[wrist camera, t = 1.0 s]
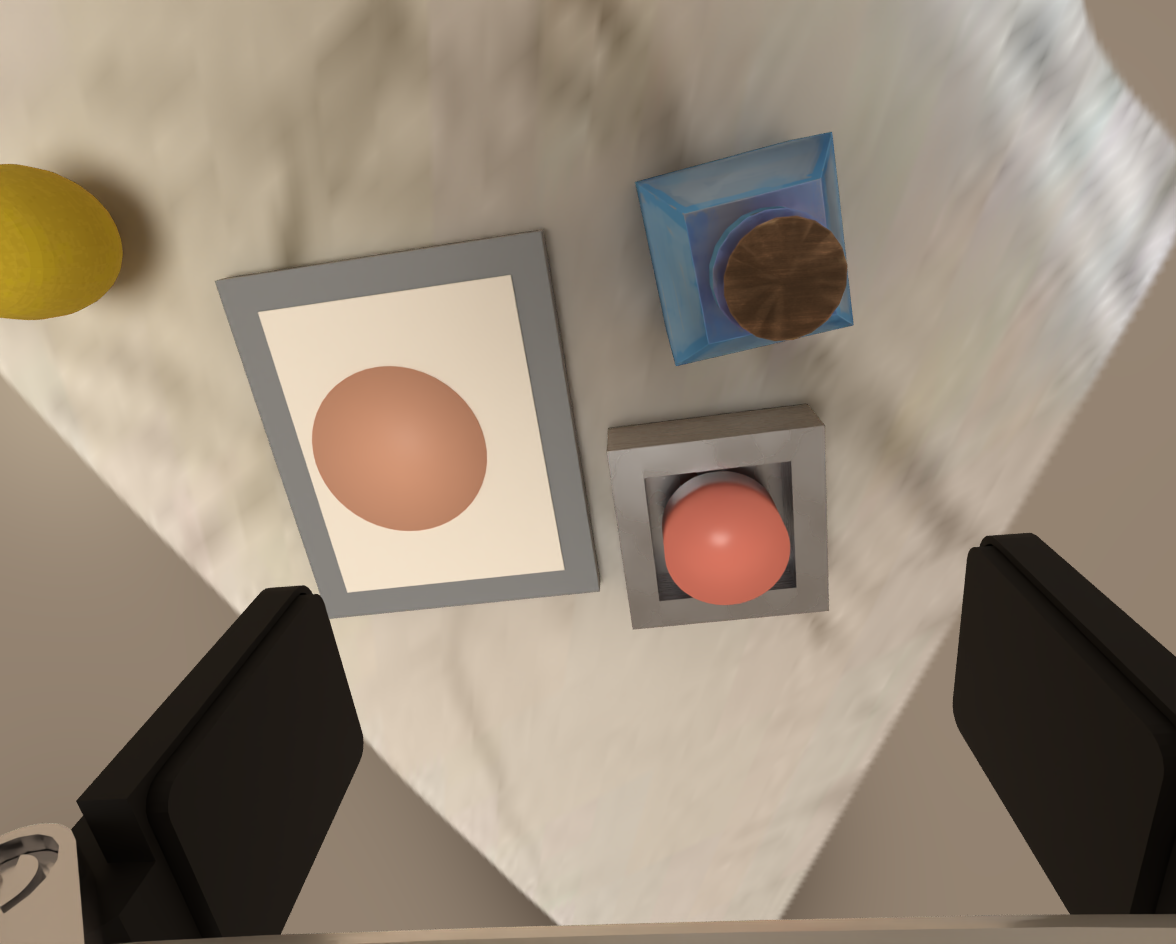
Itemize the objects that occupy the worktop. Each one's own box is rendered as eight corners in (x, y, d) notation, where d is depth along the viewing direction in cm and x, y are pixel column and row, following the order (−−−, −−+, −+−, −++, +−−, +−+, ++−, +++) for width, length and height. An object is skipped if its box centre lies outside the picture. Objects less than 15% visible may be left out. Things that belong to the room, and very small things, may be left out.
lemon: (188, 269, 31) (51, 298, 24) (89, 320, 32) (-71, 364, 25) (107, 141, 29) (-69, 130, 22) (5, 200, 30) (-195, 208, 23)
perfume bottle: (666, 330, 31) (689, 417, 20) (635, 181, 29) (641, 186, 18) (810, 296, 30) (917, 367, 19) (789, 140, 28) (898, 118, 17)
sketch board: (226, 277, 31) (211, 281, 30) (543, 229, 30) (539, 231, 28) (335, 608, 37) (326, 621, 36) (600, 580, 36) (599, 594, 35)
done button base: (608, 428, 33) (606, 451, 30) (807, 403, 32) (824, 425, 29) (632, 594, 36) (632, 629, 33) (812, 576, 35) (828, 610, 33)
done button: (655, 478, 31) (658, 503, 29) (774, 464, 31) (787, 488, 29) (667, 579, 33) (671, 610, 31) (780, 567, 33) (792, 598, 31)
